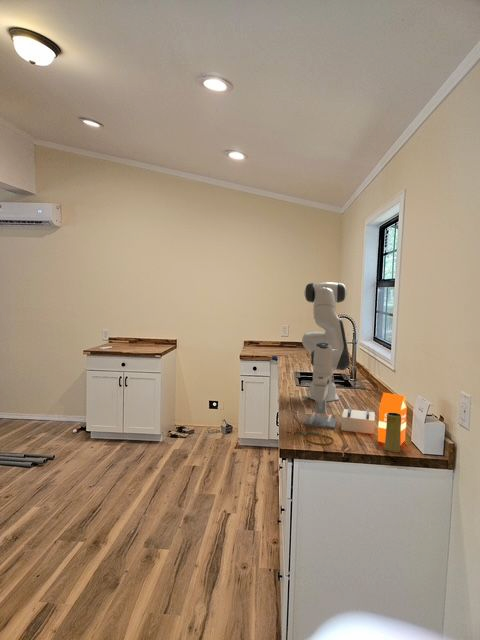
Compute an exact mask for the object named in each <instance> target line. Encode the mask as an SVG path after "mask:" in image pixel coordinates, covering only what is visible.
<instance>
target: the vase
mask: <svg viewBox="0 0 480 640" xmlns="http://www.w3.org/2000/svg"><path fill="white" fill-rule="evenodd" d="M401 446H402V444H401V414H399V413H394V412H389V413H387V425H386V437H385V443H384V447H383V448H384V450H385V451H387V452H390V453H399V452H401V451H402V449H401Z"/></svg>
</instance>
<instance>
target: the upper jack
mask: <svg viewBox="0 0 480 640" xmlns="http://www.w3.org/2000/svg"><path fill="white" fill-rule="evenodd" d="M375 413H376V412H375V411H370V407H366V410H358V409H352V405H349V406H348V408H344V409H343V412H342V415H341V424H340V425H341V427H340V428H341V431H347V432H354V433H362V434H370V435H375V424H376V422H375V421H376V420H375V419H376V417H375V416H376V414H375Z"/></svg>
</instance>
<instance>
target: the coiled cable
mask: <svg viewBox="0 0 480 640" xmlns="http://www.w3.org/2000/svg"><path fill="white" fill-rule="evenodd" d="M308 433H309V434H308ZM308 433H307V431H304V430H300V431H299V434H300V435H301V436H303V435H304V437H305V441H306V440H307V441H306V442H307V443H310V444H313V445H317V446H331V445H332V444H333V443H334V438H333V437H332V436H328V435H325V434H321V433H319V432H318V431H315V430H312V429H311V430H310V429H309V430H308ZM311 435H312V436H321V437H324V438H328V439H331V442H328V443H319V442H315V441H311V440H309V439H308V438H310V436H311Z"/></svg>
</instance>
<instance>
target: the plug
mask: <svg viewBox="0 0 480 640" xmlns="http://www.w3.org/2000/svg"><path fill="white" fill-rule="evenodd" d="M318 407H319V405H318V402H316V407H315V408H316V411H315V414H319V415H325V414H326V412H327V401H326V399H324V401H323V408H322V409H319V408H318Z"/></svg>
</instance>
